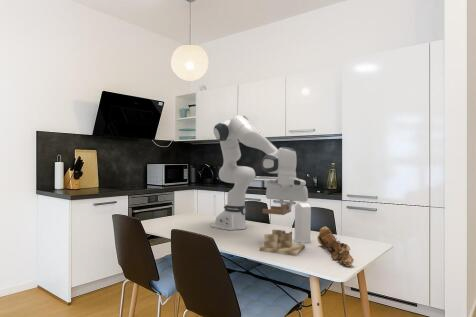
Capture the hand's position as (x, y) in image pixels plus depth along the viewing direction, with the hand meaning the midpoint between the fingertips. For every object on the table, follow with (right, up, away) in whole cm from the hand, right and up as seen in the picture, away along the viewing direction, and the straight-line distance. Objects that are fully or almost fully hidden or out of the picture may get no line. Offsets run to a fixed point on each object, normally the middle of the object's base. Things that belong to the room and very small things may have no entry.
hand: (286, 209), depth 157 cm
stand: (-2, -19, +1) cm, 19 cm away
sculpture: (+21, -20, -7) cm, 30 cm away
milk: (+11, -20, +17) cm, 29 cm away
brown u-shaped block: (-4, -2, +2) cm, 5 cm away
